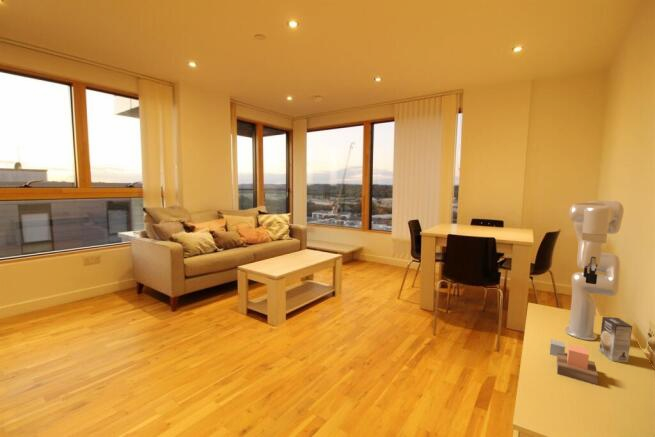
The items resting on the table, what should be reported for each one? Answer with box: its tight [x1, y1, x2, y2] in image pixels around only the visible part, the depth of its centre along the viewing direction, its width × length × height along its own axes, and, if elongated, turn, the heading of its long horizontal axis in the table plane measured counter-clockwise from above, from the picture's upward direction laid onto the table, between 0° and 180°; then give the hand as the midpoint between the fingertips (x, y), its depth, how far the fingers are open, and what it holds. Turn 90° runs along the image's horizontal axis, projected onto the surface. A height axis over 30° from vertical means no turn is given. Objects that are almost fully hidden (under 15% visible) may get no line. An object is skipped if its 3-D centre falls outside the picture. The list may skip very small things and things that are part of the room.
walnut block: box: [556, 353, 599, 386], centre depth 126 cm, size 12×12×4 cm
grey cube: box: [549, 339, 566, 357], centre depth 140 cm, size 5×5×5 cm
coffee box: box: [598, 316, 633, 363], centre depth 138 cm, size 9×6×16 cm
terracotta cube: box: [566, 343, 590, 370], centre depth 125 cm, size 6×6×6 cm
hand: (589, 280), depth 127 cm, fingers open, 9 cm apart
